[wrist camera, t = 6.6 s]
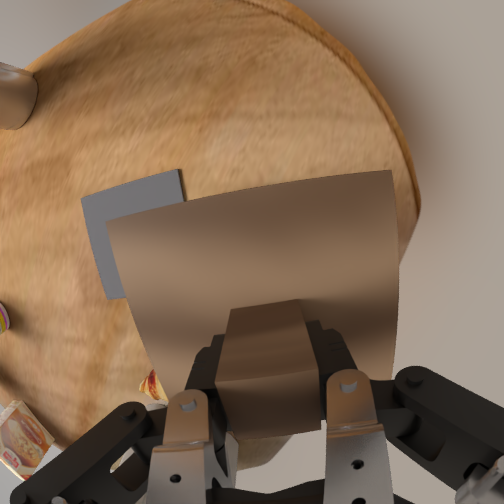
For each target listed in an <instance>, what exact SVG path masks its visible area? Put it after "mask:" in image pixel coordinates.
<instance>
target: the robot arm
mask: <svg viewBox="0 0 504 504" xmlns="http://www.w3.org/2000/svg"><path fill="white" fill-rule="evenodd" d="M37 92H38V86H37V82H36V80H35V79H34V78H33V73H32V72H29V71H26V70H23V69H20V68H17V67H14V66H11V65H8V64H5V63H2V62H0V129H6V130H8V129H9V130H16V129H18V128H20V127H21V126H22V125H23V124H24V123H25V122H26V120H27V119H28V117H29V116H30V114H31V112H32V110H33V107H34V105H35V102H36V98H37ZM305 325H306V328H307V331H308V335H309V338H310V342H311V345H312V348H313V352H314V355H315V359H316V362H317V366H318V371H319V388H320V408H321V420H326V423H327V438H326V470H325V479H321V480H316V481H309V482H305V483H303V484H300V485H297V486H294V487H291V488H288V489H284V490H281V491H278V492H274V493H271V494H264V493H258V492H251V491H245V490H240V489H235V488H233V484H232V479H231V472H230V464H229V455H228V447H227V443H226V432H227V431H233V430H232V428H231V425H230V423H229V420H228V417H227V415H226V412H225V409H224V407H223V404H222V401H221V399H220V396H219V393H218V390H217V387H216V385H215V378H216V373H217V369H218V364H219V360H220V355H221V351H222V346H223V342H224V337H225V334H217V335H214V336H213V339H212V342H211V346H210V347H203V348H202V349H201V350H200V351H199V352H198V353H197V354H196V357H195V360H194V364H193V366H192V368H191V369H192V370H191V371H190V374H189V377H188V380H187V383H186V386H185V389H184V391H181V392H179V393H177V394H176V395H174V396H173V397H172V398H171V399H170V401H169V403H168V407H165V408H160V409H156V410H151V411H147V409H146V407H145V406H144V405H143V404H142V403H139V402H127V403H124V404H121V405H120V406H118V407H117V408H116V409H114V410H113V411H112V412H111V413H110V414H108V415H107V416H106V417H105V418H104V419H102V420H101V421H100V422H99V423H98V424H96V425H95V426H94V427H93V428H92V429H90V430H89V431H88V432H87V433H85V434H84V435H83V436H82V437H80V438H79V439H78V440H77V441H76V442H74V443H73V444H72V445H71V446H69V447H68V448H67V449H66V450H64V451H63V452H62V453H61V454H59V455H58V456H57V457H55V458H54V459H53V460H52V461H50V462H49V463H48V464H46V465H45V466H44V467H43V468H41V469H40V470H39V471H37V472H36V473H35V474H33V475H32V476H31V477H29V478H28V479H27V480H25V481H24V482H23V483H21V484H20V485H19V486H17V487H16V488H15V489H14V490H13V491H12V493H11V496H10V504H135V503H136V502H137V501H138V500H139V499H140V498H141V497H142V496H143V495H144V494H145V493H146V492H147V496H146V504H414V503H412V502H410V501H407V500H406V499H403V498H401V497H399V496H398V495H396V494H394V493H393V489H392V480H391V472H390V464H389V457H388V450H387V444H386V439H387V440H388V441H389V442H391V443H392V444H393V445H394V446H395V447H397V448H398V449H399V450H401V451H402V452H403V453H404V454H406V455H407V456H408V457H410V458H411V459H412V460H414V461H415V462H416V463H418V464H419V465H420V466H422V467H423V468H424V469H426V470H427V471H429V472H430V473H431V474H432V475H434V476H435V477H437V478H438V479H439V480H441V481H442V482H444V483H445V484H446V485H448V486H449V487H451V488H452V489H454V490H456V491H457V492H456V495H455V503H456V504H504V408H503V407H501V406H499V405H497V404H495V403H493V402H491V401H489V400H487V399H485V398H483V397H481V396H479V395H477V394H475V393H473V392H471V391H469V390H467V389H465V388H464V387H462V386H460V385H458V384H456V383H454V382H452V381H450V380H448V379H446V378H445V377H443V376H441V375H439V374H437V373H435V372H433V371H431V370H429V369H427V368H425V367H422V366H410V367H406V368H404V369H402V370H400V371H399V372H398V373H397V375H396V377H395V380H372V379H369V377H368V376H367V375H366V374H365V373H364V372H362V371H360V370H358V368H357V366H356V364H355V362H354V360H353V358H352V356H351V354H350V351H349V349H348V348H347V345H346V343H345V342H344V339H343V337H342V335H341V333H339V332H338V331H336V330H335V329H333V328H332V329H327V330H323V329H322V326H321V324H320V321H319V319H318V320H312V321H307V322H305ZM385 437H386V438H385ZM130 448H131V449H132V450H133V451H134V453H133V454H132V455H131V456H130V457H129V458H128V459H126V460H125V461H124V462H123V463H122V464H121V465H120V466H119V467H118V468H117V469H116V470H115V471H114V472H112V473H110V468H111V466H112V465H113V464H114V463H115V462H116V461H117V460H118V459H119V458H120V457H121V456H122V455H123V454H124V453H125V452H126V451H127V450H129V449H130Z"/></svg>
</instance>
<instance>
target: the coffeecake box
mask: <svg viewBox="0 0 504 504" xmlns="http://www.w3.org/2000/svg"><path fill="white" fill-rule="evenodd" d="M54 440H55V439H54V438H53V437H52V436H51V435H50V433H49V432H48V431H47V430H46V429H45V428H44V427H43V425H42V424H41V423H40V422H39V421H38V420H37V418H36V417H35V416H34V415H33V413H32V412H31V411H30V410H29V408H28V407H27V406H26V404H25V403H24V402H23V401H17V400H13V401H12V402H11V403H10V404H9V406H8V407H7V408H6V409H5V410H4V411H3V412H2V413H1V415H0V460H1V461H2V462H3V463H4V464H5V465H6V466H7V467H8V468H9V469H10V470H11V471H12V472H13V473H14V474H15V475H16V476H17V477H19V478H20V479H22V480H23V481H25V480H27V479H28V478H29V477H31V476H32V474H33V473H34V471H35V469H36V468H37V466H38V465H39V463H40V462H41V460H42V458H43V457H44V455H45V453H46V452H47V451H48V449H49V448H50V446H51V445H52V443H53V442H54Z"/></svg>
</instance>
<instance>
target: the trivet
mask: <svg viewBox="0 0 504 504" xmlns="http://www.w3.org/2000/svg"><path fill="white" fill-rule="evenodd" d="M81 202H82V207H83V212H84V217H85V222H86V226H87V231H88V235H89V239H90V243H91V247H92V251H93V254H94V258H95V261H96V265H97V268H98V272H99V275H100V278H101V282H102V285H103V288H104V291H105V294H106V297H107V300H109V299H118V298H126V295H125V292H124V289H123V286H122V283H121V279H120V276H119V273H118V269H117V266H116V262H115V258H114V255H113V251H112V247H111V243H110V239H109V235H108V231H107V227H106V222H105V221H109V220H112V219H115V218H119V217H123V216H127V215H131V214H134V213H138V212H142V211H146V210H150V209H155V208H159V207H163V206H167V205H172V204H176V203H180V202H184V197H183V192H182V187H181V181H180V176H179V171H178V169H175V170H171V171H168V172H164V173H160V174H156V175H153V176H149V177H146V178H142V179H139V180H135V181H132V182H129V183H125V184H122V185H119V186H116V187H113V188H110V189H107V190H104V191H101V192H98V193H95V194H92V195H89V196H86V197H84V198H81Z"/></svg>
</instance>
